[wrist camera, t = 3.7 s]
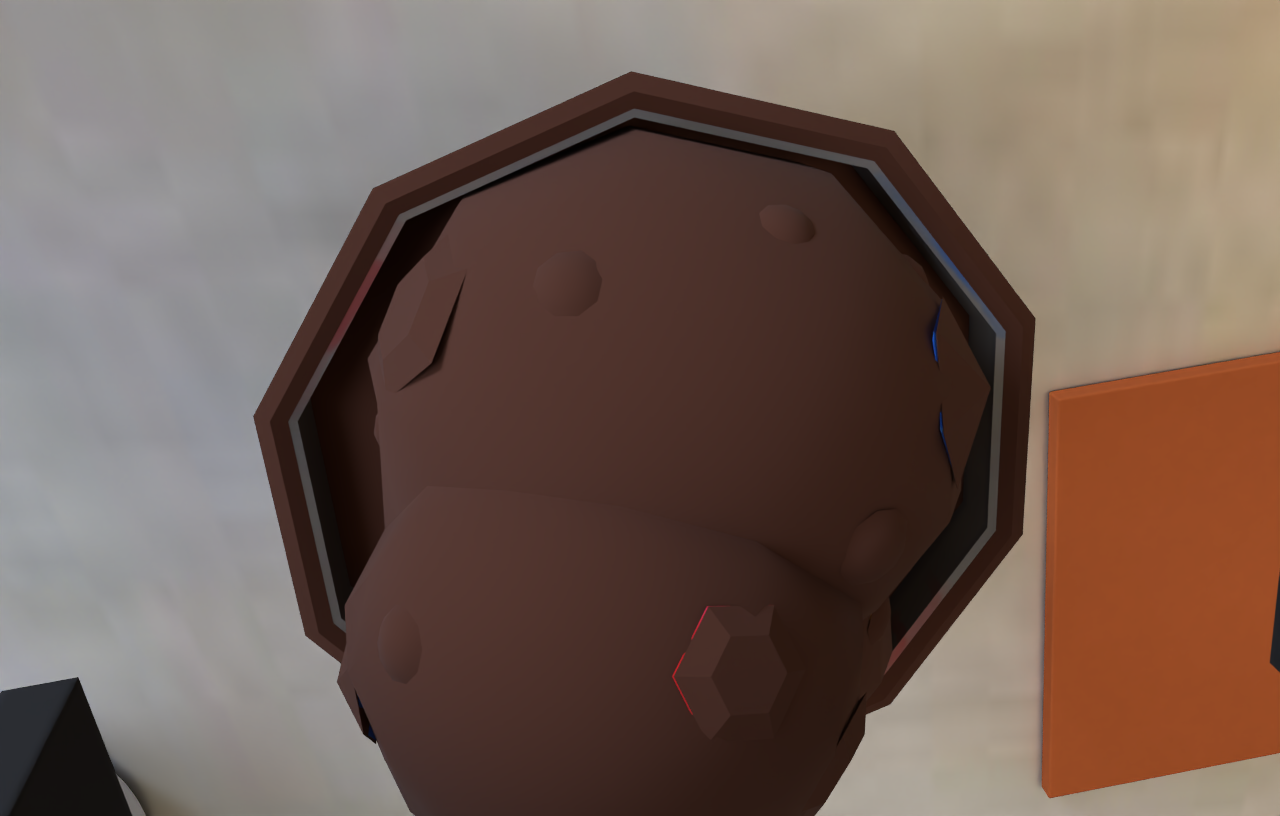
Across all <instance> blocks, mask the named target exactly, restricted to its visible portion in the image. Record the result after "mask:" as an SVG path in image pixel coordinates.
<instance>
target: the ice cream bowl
mask: <svg viewBox="0 0 1280 816" xmlns="http://www.w3.org/2000/svg"><path fill="white" fill-rule="evenodd" d="M1034 334H1035V317H1034V316H1033V315H1032V313H1031V312H1030V311H1029V309H1028V308H1027V307H1026V305H1025V304H1024V303H1023V301H1022V300H1021V299H1020V297H1019V296H1018V295H1017V293H1016V292H1015V291H1014V289H1013V288H1012V287H1011V285H1010V284H1009V283H1008V281H1007V280H1006V279H1005V277H1004V276H1003V275H1002V273H1001V272H1000V271H999V269H998V268H997V267H996V265H995V264H994V263H993V261H992V260H991V259H990V257H989V256H988V255H987V253H986V252H985V251H984V249H983V248H982V247H981V246H980V244H979V243H978V242H977V240H976V239H975V238H974V236H973V235H972V234H971V232H970V231H969V230H968V228H967V227H966V226H965V224H964V223H963V222H962V220H961V219H960V218H959V216H958V215H957V214H956V212H955V211H954V210H953V208H952V207H951V206H950V204H949V203H948V202H947V200H946V199H945V198H944V196H943V195H942V194H941V192H940V191H939V190H938V188H937V187H936V186H935V184H934V183H933V182H932V180H931V179H930V178H929V177H928V175H927V174H926V173H925V171H924V170H923V169H922V167H921V166H920V165H919V163H918V162H917V161H916V159H915V158H914V157H913V155H912V154H911V153H910V151H909V150H908V149H907V147H906V146H905V145H904V143H903V142H902V141H901V139H900V138H899V137H898V135H897V134H896V133H895V131H892V130H887V129H883V128H879V127H874V126H870V125H865V124H861V123H856V122H852V121H848V120H843V119H839V118H834V117H830V116H826V115H821V114H817V113H812V112H808V111H803V110H799V109H795V108H790V107H786V106H781V105H777V104H773V103H768V102H764V101H759V100H755V99H750V98H746V97H742V96H737V95H733V94H728V93H724V92H720V91H715V90H711V89H706V88H702V87H697V86H693V85H689V84H684V83H680V82H675V81H671V80H667V79H662V78H658V77H653V76H649V75H644V74H640V73H636V72H629V73H627V74H625V75H622V76H620V77H618V78H616V79H614V80H611V81H609V82H607V83H605V84H603V85H600V86H598V87H596V88H594V89H592V90H589V91H587V92H585V93H583V94H580V95H578V96H576V97H574V98H572V99H569V100H567V101H565V102H563V103H561V104H558V105H556V106H554V107H552V108H550V109H547V110H545V111H543V112H541V113H539V114H536V115H534V116H532V117H530V118H527V119H525V120H523V121H521V122H519V123H516V124H514V125H512V126H510V127H508V128H505V129H503V130H501V131H499V132H497V133H494V134H492V135H490V136H488V137H486V138H483V139H481V140H479V141H477V142H474V143H472V144H470V145H468V146H466V147H463V148H461V149H459V150H457V151H455V152H452V153H450V154H448V155H446V156H444V157H441V158H439V159H437V160H435V161H433V162H430V163H428V164H426V165H424V166H422V167H419V168H417V169H415V170H413V171H410V172H408V173H406V174H404V175H402V176H399V177H397V178H395V179H393V180H391V181H388V182H386V183H384V184H382V185H380V186H377V187H375V188H373V189H372V191H371V193H370V195H369V197H368V199H367V201H366V203H365V205H364V206H363V208H362V210H361V212H360V214H359V216H358V218H357V220H356V222H355V224H354V225H353V227H352V229H351V231H350V233H349V235H348V237H347V239H346V241H345V243H344V245H343V246H342V248H341V250H340V252H339V254H338V256H337V258H336V260H335V262H334V264H333V266H332V267H331V269H330V271H329V273H328V275H327V277H326V279H325V281H324V283H323V285H322V286H321V288H320V290H319V292H318V294H317V296H316V298H315V300H314V302H313V304H312V306H311V307H310V309H309V311H308V313H307V315H306V317H305V319H304V321H303V323H302V325H301V327H300V328H299V330H298V332H297V334H296V336H295V338H294V340H293V342H292V344H291V346H290V348H289V349H288V351H287V353H286V355H285V357H284V359H283V361H282V363H281V365H280V367H279V368H278V370H277V372H276V374H275V376H274V378H273V380H272V382H271V384H270V386H269V388H268V389H267V391H266V393H265V395H264V397H263V399H262V401H261V403H260V405H259V407H258V409H257V410H256V412H255V414H254V416H253V417H254V421H255V425H256V430H257V434H258V438H259V442H260V446H261V451H262V455H263V459H264V463H265V467H266V472H267V476H268V480H269V484H270V488H271V493H272V497H273V501H274V505H275V509H276V514H277V518H278V522H279V526H280V530H281V535H282V539H283V543H284V547H285V551H286V556H287V560H288V564H289V568H290V573H291V577H292V581H293V585H294V589H295V594H296V598H297V602H298V606H299V610H300V615H301V619H302V623H303V627H304V631H305V636H307V637H308V638H309V639H310V640H312V641H313V642H314V643H316V644H317V645H318V646H319V647H321V648H322V649H323V650H325V651H326V652H327V653H328V654H330V655H331V656H332V657H334V658H335V659H336V660H337V661H339V662H340V663H341V667H340V671H339V676H338V680H337V683H338V685H339V687H340V689H341V691H342V693H343V695H344V697H345V699H346V701H347V703H348V705H349V707H350V709H351V711H352V713H353V715H354V717H355V719H356V721H357V723H358V724H359V726H360V728H361V730H362V732H363V734H364V735H365V736H366V737H368V738H369V739H370V740H371V741H373V742H374V743H375V744H376V741H377V743H378V745H379V747H380V750H381V752H382V755H383V757H384V759H385V761H386V763H387V765H388V767H389V769H390V771H391V773H392V775H393V777H394V779H395V782H396V784H397V786H398V788H399V790H400V792H401V794H402V796H403V798H404V800H405V802H406V804H407V806H408V808H409V810H410V812H411V813H413V814H414V815H415V816H815V814H816V813H817V812H818V811H819V810H820V808H821V807H822V806H823V805H824V803H825V802H826V800H827V799H828V797H829V795H830V794H831V792H832V791H833V789H834V787H835V786H836V784H837V782H838V781H839V779H840V778H841V776H842V774H843V773H844V771H845V770H846V768H847V766H848V765H849V763H850V761H851V760H852V758H853V756H854V754H855V752H856V750H857V748H858V746H859V744H860V742H861V740H862V738H863V736H864V734H865V717H866V714H868V713H871V712H873V711H875V710H878V709H880V708H883V707H885V706H887V705H890V704H891V703H892V701H893V700H894V699H895V697H896V696H897V695H898V694H899V692H900V691H901V690H902V688H903V687H904V686H905V685H906V683H907V682H908V681H909V680H910V678H911V677H912V676H913V674H914V673H915V672H916V671H917V669H918V668H919V667H920V665H921V664H922V663H923V662H924V660H925V659H926V658H927V656H928V655H929V654H930V653H931V651H932V650H933V649H934V647H935V646H936V645H937V644H938V642H939V641H940V640H941V638H942V637H943V636H944V635H945V633H946V632H947V631H948V629H949V628H950V627H951V626H952V624H953V623H954V622H955V620H956V619H957V618H958V617H959V615H960V614H961V613H962V612H963V610H964V609H965V608H966V606H967V605H968V604H969V603H970V601H971V600H972V599H973V597H974V596H975V595H976V594H977V592H978V591H979V590H980V588H981V587H982V586H983V585H984V583H985V582H986V581H987V579H988V578H989V577H990V576H991V574H992V573H993V572H994V570H995V569H996V568H997V567H998V565H999V564H1000V563H1001V561H1002V560H1003V559H1004V558H1005V556H1006V555H1007V554H1008V552H1009V551H1010V550H1011V549H1012V547H1013V546H1014V545H1015V544H1016V542H1017V541H1018V540H1019V538H1020V537H1021V536H1022V535H1023V518H1024V502H1025V485H1026V468H1027V451H1028V435H1029V418H1030V401H1031V385H1032V368H1033V351H1034Z"/></svg>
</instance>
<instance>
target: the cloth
mask: <svg viewBox="0 0 1280 816" xmlns="http://www.w3.org/2000/svg"><path fill="white" fill-rule="evenodd" d="M1279 572H1280V352H1277V353H1271V354H1266V355H1260V356H1254V357H1248V358H1243V359H1237V360H1231V361H1225V362H1219V363H1214V364H1208V365H1202V366H1196V367H1191V368H1185V369H1179V370H1173V371H1168V372H1162V373H1156V374H1150V375H1144V376H1139V377H1133V378H1127V379H1121V380H1116V381H1110V382H1104V383H1098V384H1092V385H1087V386H1081V387H1075V388H1069V389H1064V390H1058V391H1052V392H1050V393H1049V439H1048V491H1047V543H1046V595H1045V647H1044V699H1043V750H1042V788H1043V789H1044V791H1045V792H1046V794H1047V796H1048V797H1049V798H1053V797H1058V796H1063V795H1068V794H1073V793H1079V792H1084V791H1089V790H1094V789H1099V788H1104V787H1109V786H1114V785H1119V784H1124V783H1129V782H1134V781H1139V780H1145V779H1150V778H1155V777H1160V776H1165V775H1170V774H1175V773H1180V772H1185V771H1190V770H1195V769H1200V768H1205V767H1211V766H1216V765H1221V764H1226V763H1231V762H1236V761H1241V760H1246V759H1251V758H1256V757H1261V756H1266V755H1271V754H1277V753H1280V672H1279V671H1278V670H1277V669H1276V668H1274V667H1273V666H1272V665H1271V664H1270V654H1271V645H1272V636H1273V627H1274V617H1275V608H1276V599H1277V590H1278V581H1279Z"/></svg>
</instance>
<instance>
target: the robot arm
mask: <svg viewBox="0 0 1280 816" xmlns="http://www.w3.org/2000/svg"><path fill="white" fill-rule="evenodd" d="M1270 664H1271V665H1272V666H1273V667H1274V668H1276V669H1277V670H1278V671H1279V672H1280V572H1279V581H1278V590H1277V599H1276V608H1275V617H1274V627H1273V636H1272V645H1271V654H1270ZM0 816H132V813H131V811H130V808H129V806H128V803H127V801H126V798H125V795H124V793H123V790H122V788H121V785H120V783H119V780H118V778H117V775H116V773H115V770H114V767H113V765H112V762H111V760H110V757H109V755H108V752H107V750H106V747H105V744H104V742H103V739H102V737H101V734H100V732H99V729H98V727H97V724H96V722H95V719H94V716H93V714H92V711H91V709H90V706H89V704H88V701H87V699H86V696H85V693H84V691H83V688H82V686H81V683H80V681H79V678H78V677H77V678H72V679H66V680H61V681H55V682H50V683H44V684H39V685H33V686H28V687H22V688H17V689H11V690H6V691H2V692H1V693H0Z"/></svg>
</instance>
